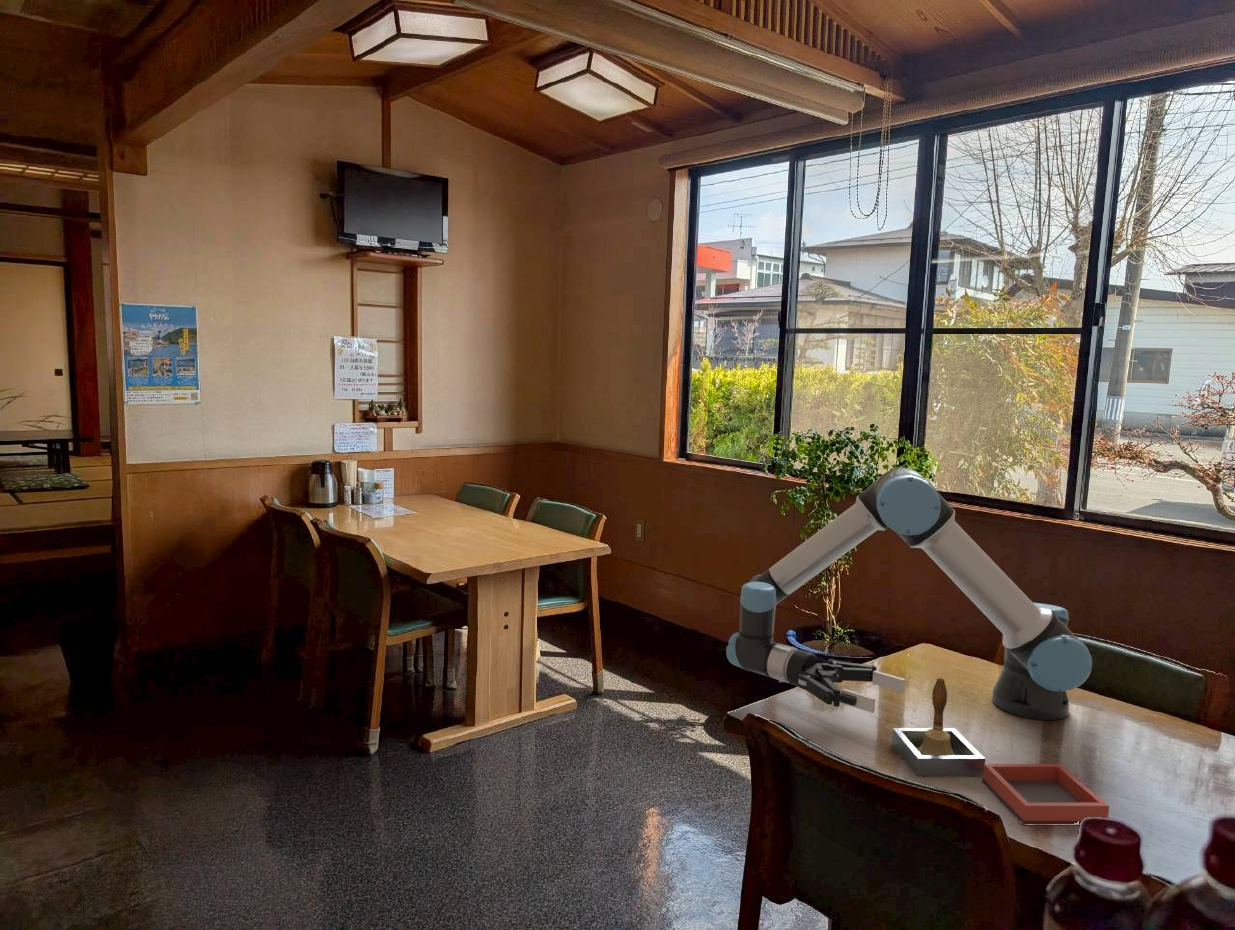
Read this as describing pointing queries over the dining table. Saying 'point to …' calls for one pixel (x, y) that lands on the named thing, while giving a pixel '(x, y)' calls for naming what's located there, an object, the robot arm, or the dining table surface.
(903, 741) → the grey square open box
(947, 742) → the hand bell
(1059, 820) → the tray
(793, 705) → the dining table surface
